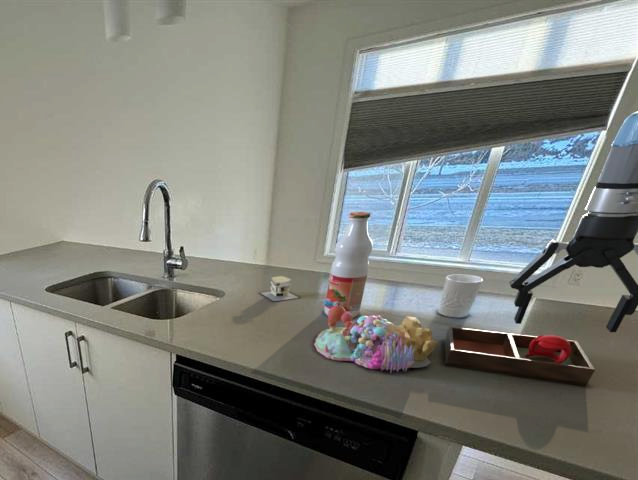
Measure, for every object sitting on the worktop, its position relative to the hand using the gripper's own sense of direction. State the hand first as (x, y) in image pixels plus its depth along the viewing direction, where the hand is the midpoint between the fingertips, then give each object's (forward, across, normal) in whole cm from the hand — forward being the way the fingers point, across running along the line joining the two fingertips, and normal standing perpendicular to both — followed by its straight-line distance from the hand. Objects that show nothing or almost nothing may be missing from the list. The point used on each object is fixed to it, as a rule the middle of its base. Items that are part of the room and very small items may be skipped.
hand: (561, 325), depth 82 cm
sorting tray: (+9, -6, 0) cm, 11 cm away
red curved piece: (+8, 0, 0) cm, 8 cm away
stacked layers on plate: (+8, -63, +29) cm, 70 cm away
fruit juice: (+9, -42, +18) cm, 46 cm away
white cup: (+9, -15, +28) cm, 33 cm away
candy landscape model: (+9, -32, -5) cm, 34 cm away
